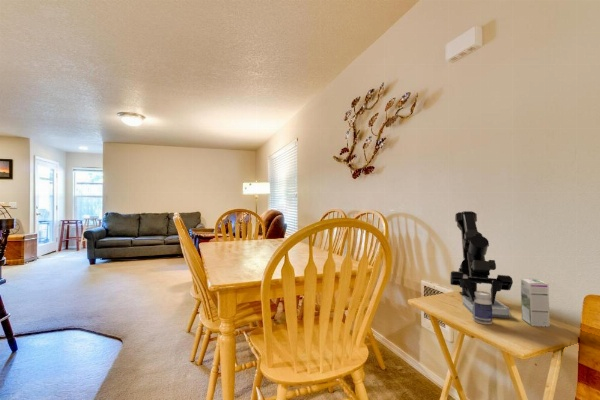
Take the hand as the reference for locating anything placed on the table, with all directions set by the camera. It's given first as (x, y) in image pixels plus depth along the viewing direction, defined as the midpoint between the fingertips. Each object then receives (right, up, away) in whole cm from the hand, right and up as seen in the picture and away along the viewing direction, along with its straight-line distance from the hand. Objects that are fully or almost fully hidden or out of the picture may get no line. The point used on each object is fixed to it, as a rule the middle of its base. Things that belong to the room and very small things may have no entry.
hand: (483, 302), depth 97 cm
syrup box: (+18, -7, 0) cm, 19 cm away
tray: (+8, -7, +11) cm, 15 cm away
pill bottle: (+1, -7, +1) cm, 7 cm away
